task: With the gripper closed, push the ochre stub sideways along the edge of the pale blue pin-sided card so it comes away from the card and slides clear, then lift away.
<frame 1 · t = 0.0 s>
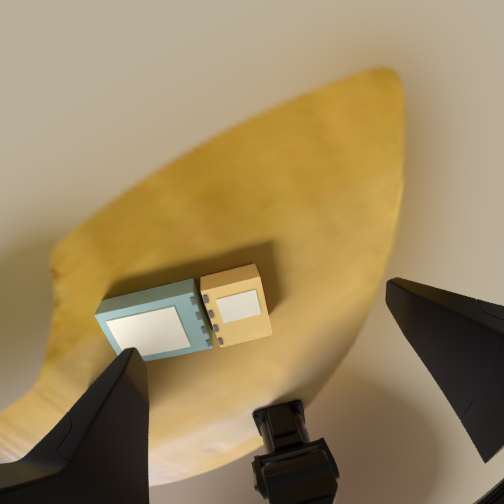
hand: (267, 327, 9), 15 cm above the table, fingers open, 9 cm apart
pale blue pin-sided card: (156, 317, 25), on the table
stub: (237, 307, 24), point 1 cm above the table, slide at 0.0 cm
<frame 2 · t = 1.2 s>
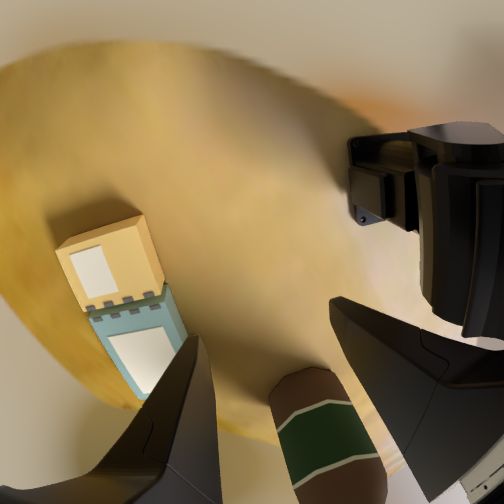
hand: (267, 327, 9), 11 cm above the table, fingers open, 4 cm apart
beer bottle: (302, 389, 27), on the table
pale blue pin-sided card: (152, 339, 22), on the table
stub: (110, 265, 17), point 1 cm above the table, slide at 0.0 cm
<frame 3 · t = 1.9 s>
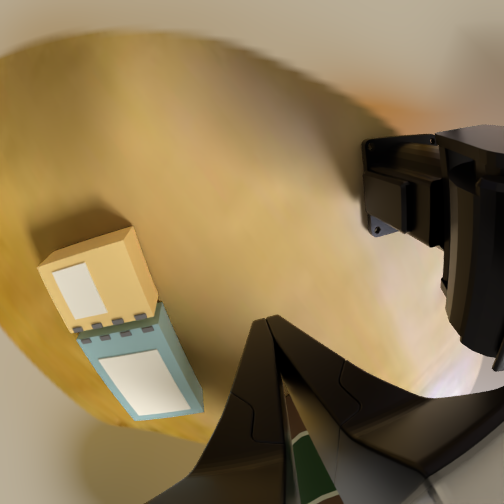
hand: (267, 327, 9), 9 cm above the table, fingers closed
beer bottle: (307, 406, 25), on the table
pale blue pin-sided card: (146, 359, 20), on the table
stub: (97, 282, 15), point 1 cm above the table, slide at 0.0 cm
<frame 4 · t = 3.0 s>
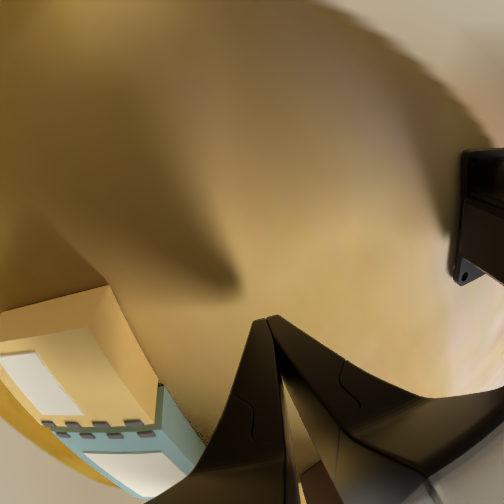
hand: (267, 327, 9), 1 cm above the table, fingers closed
beer bottle: (340, 463, 19), on the table
pale blue pin-sided card: (147, 440, 13), on the table
stub: (64, 368, 9), point 1 cm above the table, slide at 0.0 cm
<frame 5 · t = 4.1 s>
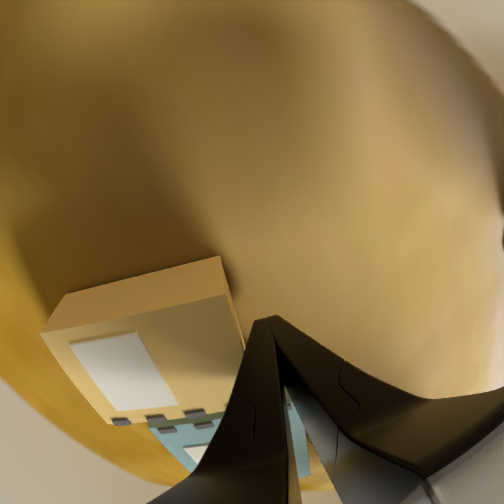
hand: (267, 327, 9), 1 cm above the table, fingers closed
pale blue pin-sided card: (240, 425, 13), on the table
stub: (154, 353, 9), point 1 cm above the table, slide at 1.5 cm, touching gripper
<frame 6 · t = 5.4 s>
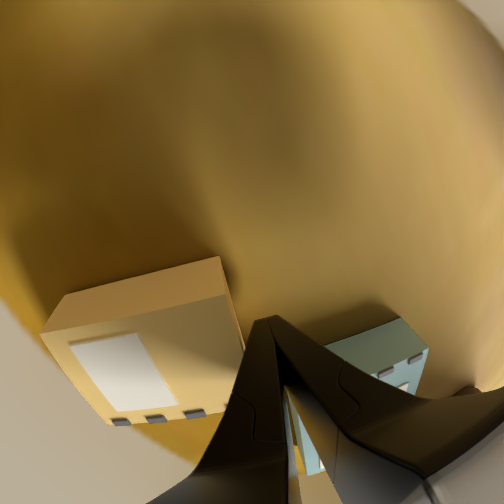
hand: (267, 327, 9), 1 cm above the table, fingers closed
pale blue pin-sided card: (344, 396, 14), on the table
stub: (153, 354, 9), point 1 cm above the table, slide at 7.3 cm, touching gripper
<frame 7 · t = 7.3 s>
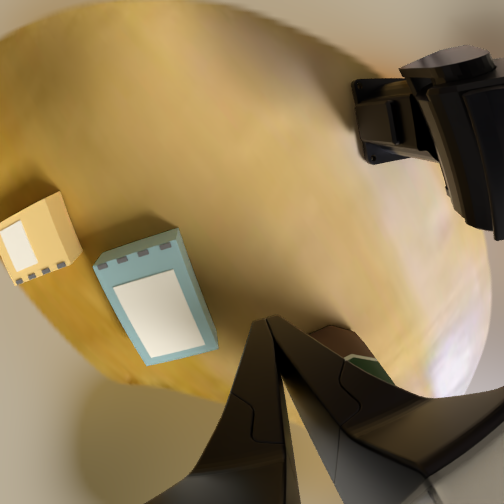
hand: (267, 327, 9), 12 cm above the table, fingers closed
beer bottle: (321, 353, 27), on the table
pale blue pin-sided card: (160, 294, 21), on the table
stub: (34, 240, 16), point 1 cm above the table, slide at 7.4 cm
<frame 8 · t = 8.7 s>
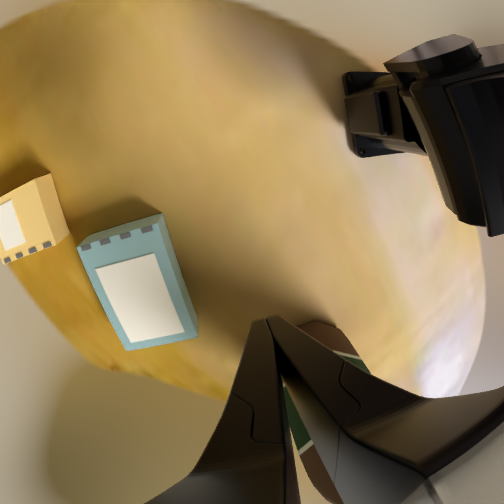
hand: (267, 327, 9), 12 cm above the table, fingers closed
beer bottle: (306, 349, 26), on the table
pale blue pin-sided card: (143, 279, 21), on the table
stub: (23, 220, 16), point 1 cm above the table, slide at 7.4 cm
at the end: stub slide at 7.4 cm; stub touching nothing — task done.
